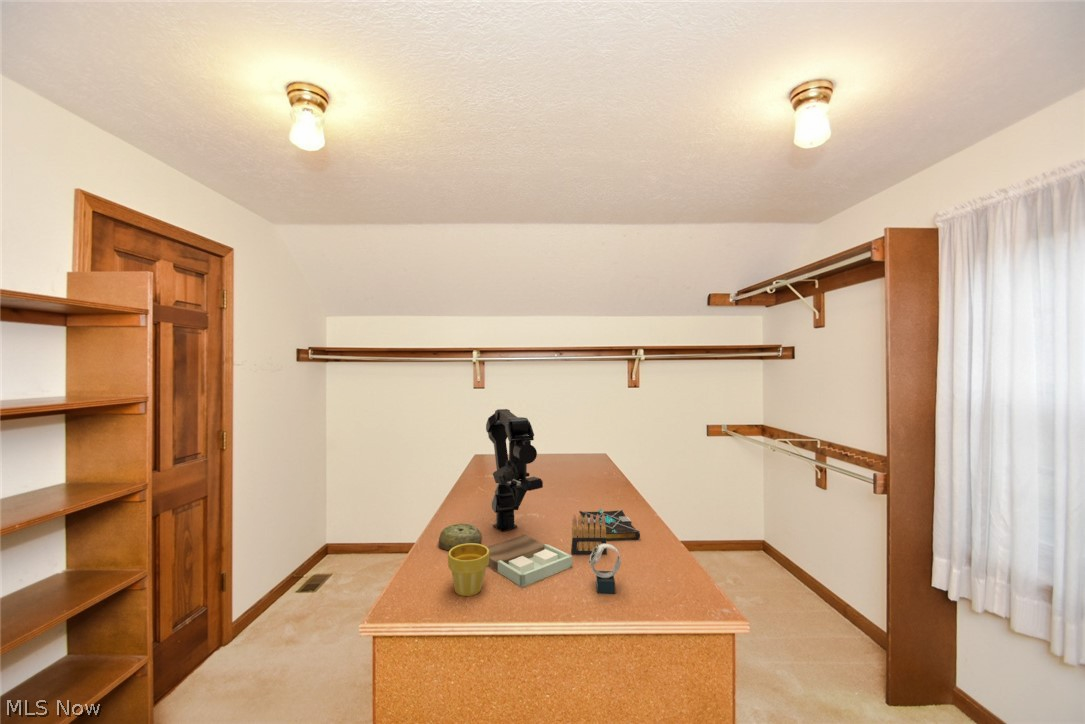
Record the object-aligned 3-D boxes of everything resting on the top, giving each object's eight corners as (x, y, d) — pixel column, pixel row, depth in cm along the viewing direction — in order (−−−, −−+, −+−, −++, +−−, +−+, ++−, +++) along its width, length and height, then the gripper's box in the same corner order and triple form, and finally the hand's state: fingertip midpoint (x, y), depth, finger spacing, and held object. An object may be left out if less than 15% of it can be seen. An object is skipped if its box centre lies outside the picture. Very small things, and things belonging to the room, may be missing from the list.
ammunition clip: (571, 554, 132) (571, 515, 132) (571, 552, 133) (571, 512, 133) (607, 554, 132) (607, 515, 132) (606, 552, 133) (606, 512, 134)
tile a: (533, 561, 126) (533, 554, 126) (545, 555, 129) (545, 549, 129) (545, 566, 122) (545, 559, 122) (557, 561, 126) (558, 554, 126)
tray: (497, 571, 120) (497, 561, 120) (546, 553, 132) (546, 543, 132) (522, 587, 112) (522, 575, 112) (572, 566, 124) (572, 556, 124)
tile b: (508, 568, 121) (508, 561, 121) (522, 562, 125) (522, 555, 125) (520, 574, 118) (520, 567, 118) (534, 568, 121) (534, 561, 121)
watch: (588, 582, 115) (588, 540, 115) (619, 583, 114) (619, 541, 114) (589, 593, 109) (589, 549, 109) (621, 594, 109) (622, 550, 109)
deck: (476, 558, 129) (476, 550, 129) (524, 542, 140) (524, 534, 141) (497, 571, 120) (497, 562, 120) (546, 553, 132) (546, 545, 132)
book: (640, 541, 142) (640, 526, 143) (589, 543, 141) (589, 527, 141) (622, 518, 164) (622, 505, 164) (578, 519, 163) (578, 506, 163)
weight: (489, 539, 143) (489, 524, 143) (466, 556, 131) (466, 539, 131) (455, 533, 149) (455, 518, 149) (429, 548, 137) (429, 532, 137)
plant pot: (495, 593, 109) (495, 554, 109) (455, 604, 104) (455, 563, 104) (480, 576, 118) (480, 539, 118) (442, 585, 113) (442, 547, 113)
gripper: (480, 455, 142) (480, 503, 142) (515, 465, 128) (515, 519, 128) (508, 451, 149) (508, 497, 149) (544, 460, 135) (543, 511, 135)
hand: (517, 505), depth 140 cm, fingers closed
